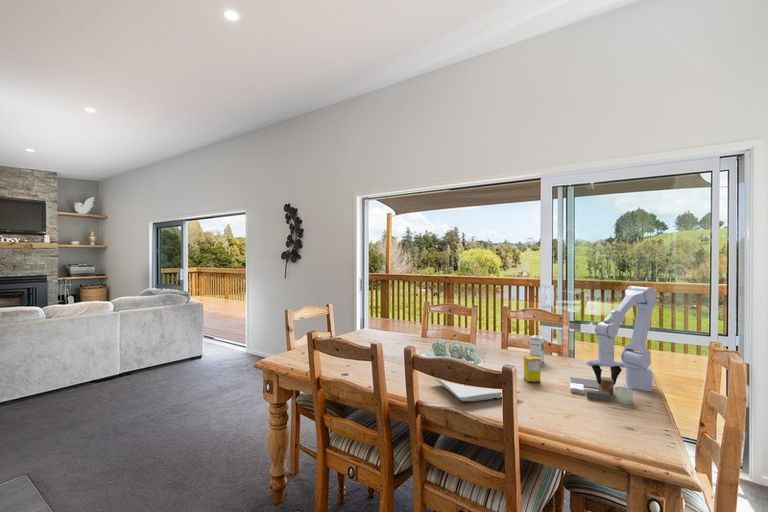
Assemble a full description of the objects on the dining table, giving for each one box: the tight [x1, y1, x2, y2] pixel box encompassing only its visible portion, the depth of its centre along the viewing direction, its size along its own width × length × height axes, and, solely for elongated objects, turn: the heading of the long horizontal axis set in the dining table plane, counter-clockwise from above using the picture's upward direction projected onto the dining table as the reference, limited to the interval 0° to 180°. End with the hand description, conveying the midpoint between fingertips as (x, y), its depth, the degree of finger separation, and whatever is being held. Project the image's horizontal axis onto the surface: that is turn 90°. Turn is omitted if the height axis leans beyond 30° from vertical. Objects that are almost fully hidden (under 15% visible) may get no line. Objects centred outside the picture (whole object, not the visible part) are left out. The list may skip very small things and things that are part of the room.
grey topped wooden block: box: [569, 382, 585, 395], centre depth 159 cm, size 7×5×2 cm
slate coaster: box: [569, 376, 599, 390], centre depth 168 cm, size 11×11×1 cm
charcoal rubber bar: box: [585, 388, 611, 402], centre depth 151 cm, size 8×3×3 cm, turn 67°
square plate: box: [434, 378, 520, 402], centre depth 160 cm, size 27×27×4 cm
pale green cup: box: [614, 386, 634, 406], centre depth 148 cm, size 6×6×5 cm
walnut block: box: [598, 376, 615, 396], centre depth 157 cm, size 4×4×6 cm
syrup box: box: [529, 335, 545, 366], centre depth 199 cm, size 6×6×14 cm
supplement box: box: [523, 355, 542, 384], centre depth 172 cm, size 6×6×11 cm
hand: (606, 383), depth 157 cm, fingers open, 5 cm apart
